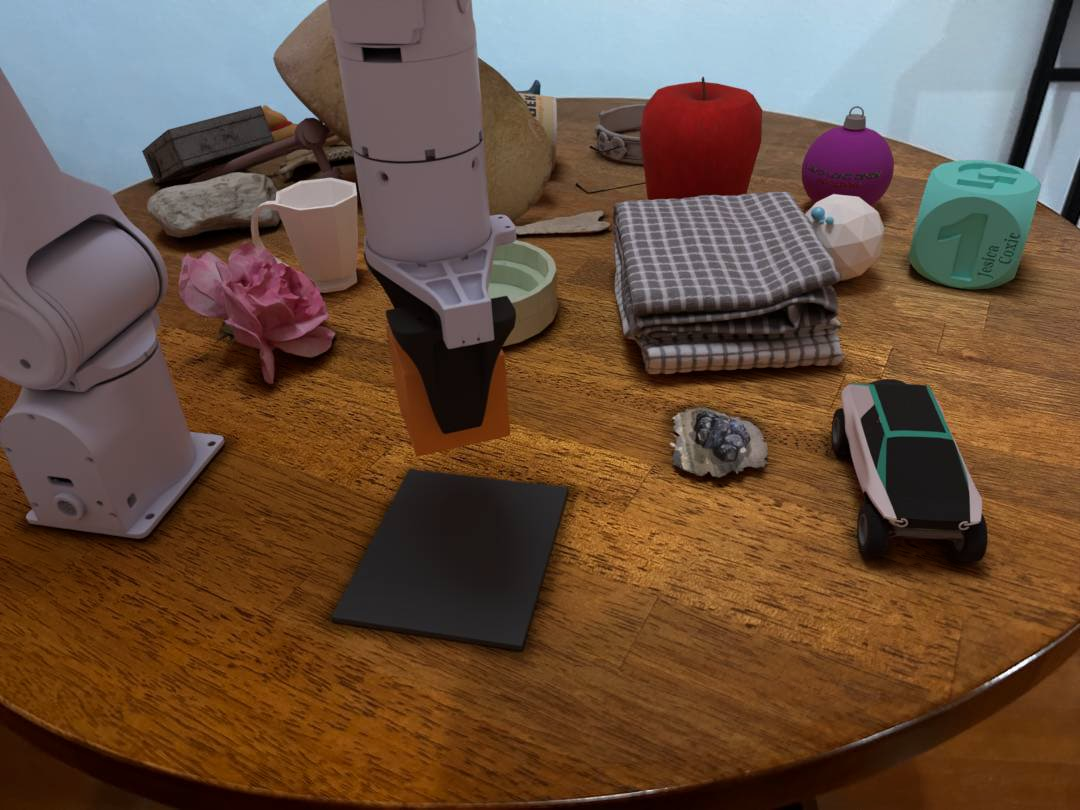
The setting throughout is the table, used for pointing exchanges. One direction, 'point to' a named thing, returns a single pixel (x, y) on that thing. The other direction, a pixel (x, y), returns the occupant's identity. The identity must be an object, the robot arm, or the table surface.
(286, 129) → the toy
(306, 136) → the toilet paper hanger
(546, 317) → the bowl
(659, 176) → the apple
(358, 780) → the table surface
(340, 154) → the jawbone
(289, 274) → the flower
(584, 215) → the stone tool
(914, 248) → the decorative dice
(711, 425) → the blueberries
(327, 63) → the stone
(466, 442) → the block
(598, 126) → the bracelet
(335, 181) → the cup
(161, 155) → the grey rectangular box
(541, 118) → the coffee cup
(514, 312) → the robot arm
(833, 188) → the christmas ornament
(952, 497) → the toy car
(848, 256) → the ornament
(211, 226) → the decorative stone
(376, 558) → the mat
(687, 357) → the towel
